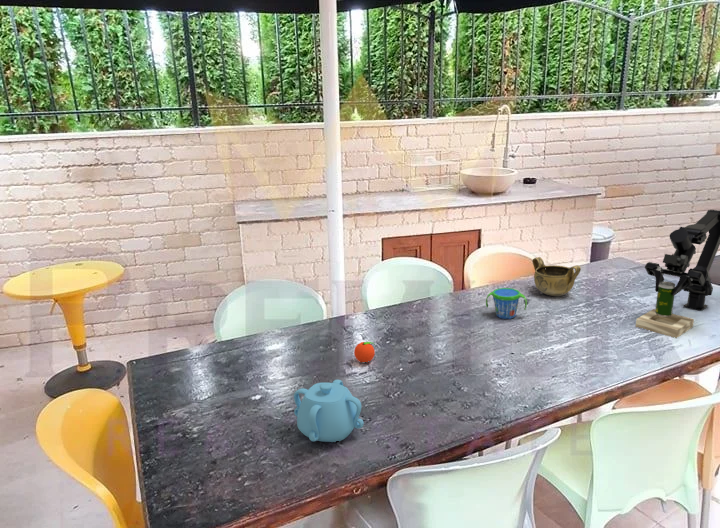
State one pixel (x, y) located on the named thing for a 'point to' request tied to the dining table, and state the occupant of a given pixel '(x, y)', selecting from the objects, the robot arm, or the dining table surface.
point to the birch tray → (665, 324)
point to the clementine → (364, 352)
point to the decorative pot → (327, 412)
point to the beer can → (665, 299)
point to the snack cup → (506, 302)
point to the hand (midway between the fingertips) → (664, 293)
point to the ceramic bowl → (554, 277)
